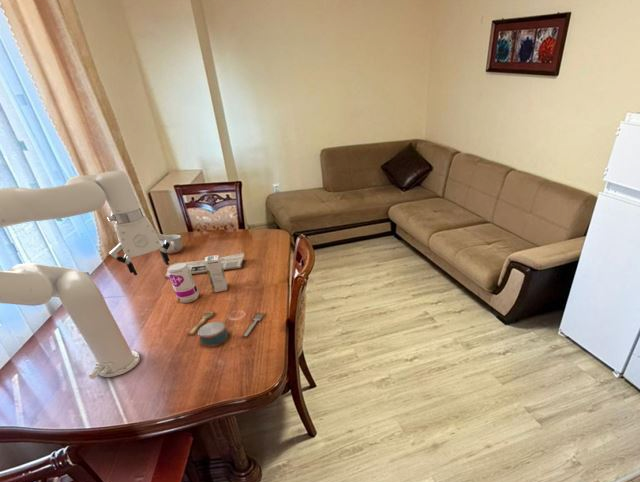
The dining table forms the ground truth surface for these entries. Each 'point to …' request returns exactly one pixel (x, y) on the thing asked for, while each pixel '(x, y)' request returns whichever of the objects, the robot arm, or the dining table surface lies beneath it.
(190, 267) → the newspaper
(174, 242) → the teacup
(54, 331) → the dining table surface
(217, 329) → the tin
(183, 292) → the supplement can
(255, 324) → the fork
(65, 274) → the robot arm
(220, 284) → the syrup box
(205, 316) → the spoon
